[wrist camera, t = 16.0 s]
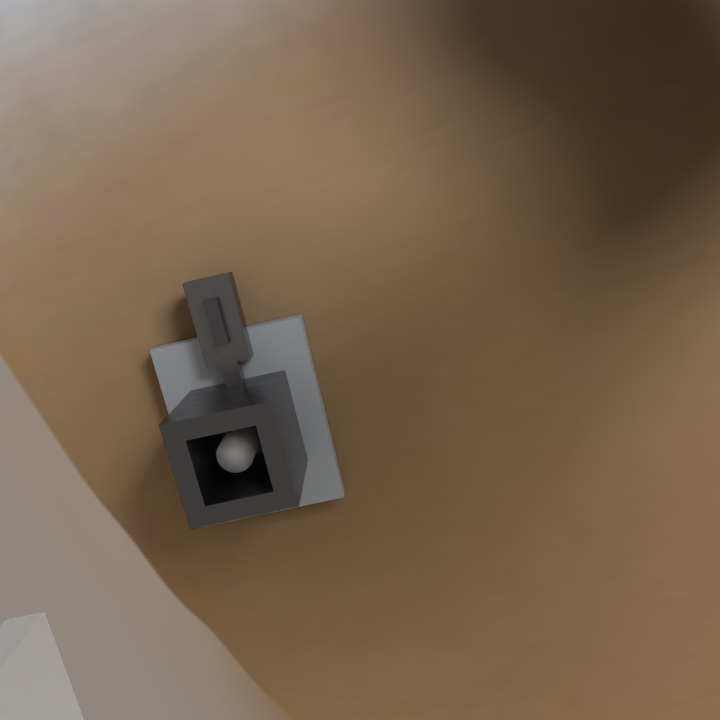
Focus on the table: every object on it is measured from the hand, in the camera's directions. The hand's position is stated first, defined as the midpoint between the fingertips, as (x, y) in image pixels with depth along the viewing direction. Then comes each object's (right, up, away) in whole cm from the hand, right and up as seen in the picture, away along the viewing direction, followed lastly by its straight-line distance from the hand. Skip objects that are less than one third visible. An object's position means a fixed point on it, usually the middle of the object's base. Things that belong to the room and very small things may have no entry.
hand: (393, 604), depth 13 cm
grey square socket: (-9, +3, +35) cm, 37 cm away
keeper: (-9, 0, +37) cm, 39 cm away
